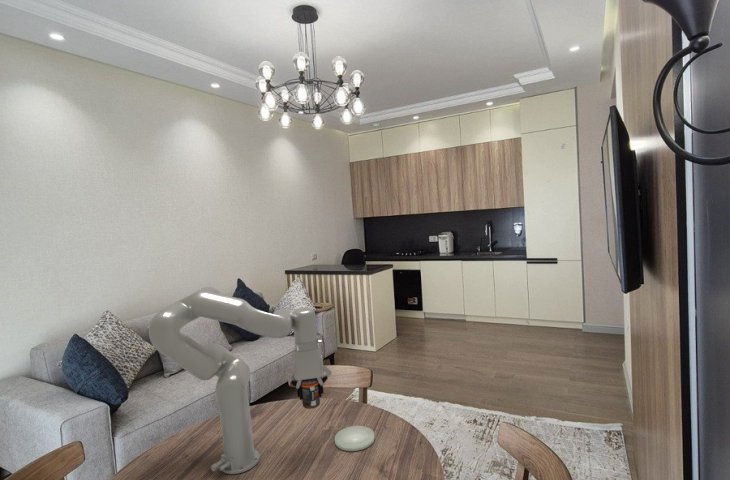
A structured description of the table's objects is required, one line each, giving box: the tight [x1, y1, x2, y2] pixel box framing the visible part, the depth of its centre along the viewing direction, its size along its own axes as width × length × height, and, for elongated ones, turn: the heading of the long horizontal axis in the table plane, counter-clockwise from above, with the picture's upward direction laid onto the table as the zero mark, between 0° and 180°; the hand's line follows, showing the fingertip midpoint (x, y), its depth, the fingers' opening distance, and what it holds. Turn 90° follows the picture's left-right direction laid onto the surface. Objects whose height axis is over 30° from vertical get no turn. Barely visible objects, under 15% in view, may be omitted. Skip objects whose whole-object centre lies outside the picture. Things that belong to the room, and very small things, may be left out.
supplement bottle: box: [301, 378, 321, 410], centre depth 136 cm, size 6×6×11 cm
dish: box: [334, 425, 375, 452], centre depth 141 cm, size 14×14×2 cm
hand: (310, 396), depth 136 cm, fingers closed on supplement bottle, 6 cm apart
